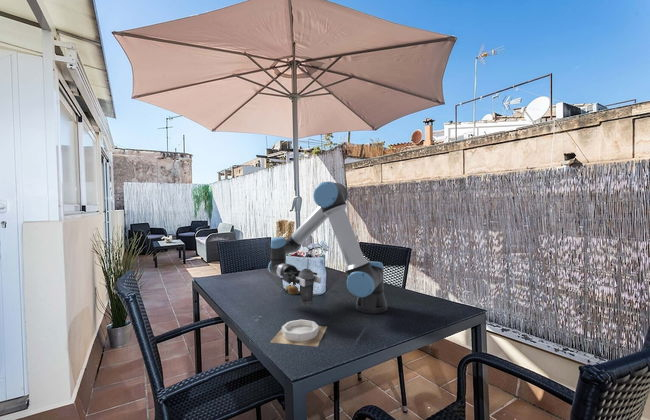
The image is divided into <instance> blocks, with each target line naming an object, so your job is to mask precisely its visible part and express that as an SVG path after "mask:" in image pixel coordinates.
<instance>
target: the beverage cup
mask: <svg viewBox="0 0 650 420" xmlns="http://www.w3.org/2000/svg"><path fill="white" fill-rule="evenodd" d="M309 260H310V259H309V258H307V262H306V268H303V269H301V270H300V271H301V272H300V273H299V276H298V277H299V278H302V279H304V280H305V286H304V287H303V286H301V285H300V294H299V295H300V302H301V306H302V307H312V306H313V297H314V286H315V285H314V284H315V282H314V279H315V277H314V273H313V272H314V271H313V270H311V269H309Z"/></svg>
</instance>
